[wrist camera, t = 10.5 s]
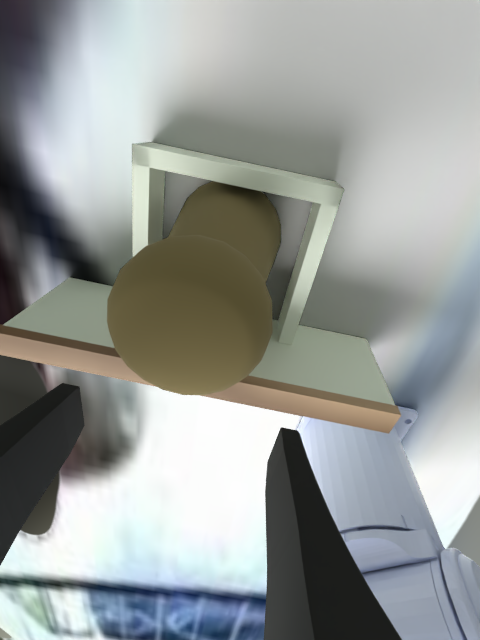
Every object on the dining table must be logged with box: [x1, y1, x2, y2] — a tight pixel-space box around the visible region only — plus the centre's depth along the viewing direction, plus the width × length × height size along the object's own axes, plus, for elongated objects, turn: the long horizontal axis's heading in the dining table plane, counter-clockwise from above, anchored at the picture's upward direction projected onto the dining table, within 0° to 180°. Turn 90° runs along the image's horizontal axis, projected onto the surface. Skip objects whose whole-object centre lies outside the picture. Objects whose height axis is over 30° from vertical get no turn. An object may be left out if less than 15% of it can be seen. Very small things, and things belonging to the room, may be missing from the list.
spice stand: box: [0, 142, 401, 434], centre depth 16 cm, size 10×20×7 cm, turn 80°
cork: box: [107, 181, 281, 395], centre depth 13 cm, size 6×6×11 cm
